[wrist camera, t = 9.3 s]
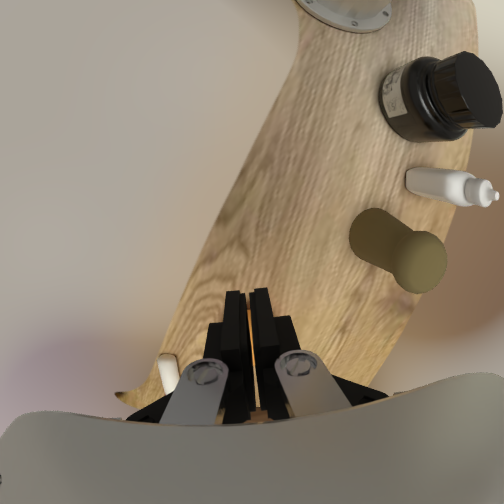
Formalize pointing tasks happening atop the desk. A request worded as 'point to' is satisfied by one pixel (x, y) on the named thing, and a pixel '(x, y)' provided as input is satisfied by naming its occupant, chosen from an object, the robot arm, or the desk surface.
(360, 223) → the olive pawn
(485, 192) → the eye dropper bottle
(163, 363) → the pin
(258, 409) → the rail
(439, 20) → the desk surface
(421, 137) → the ink bottle
